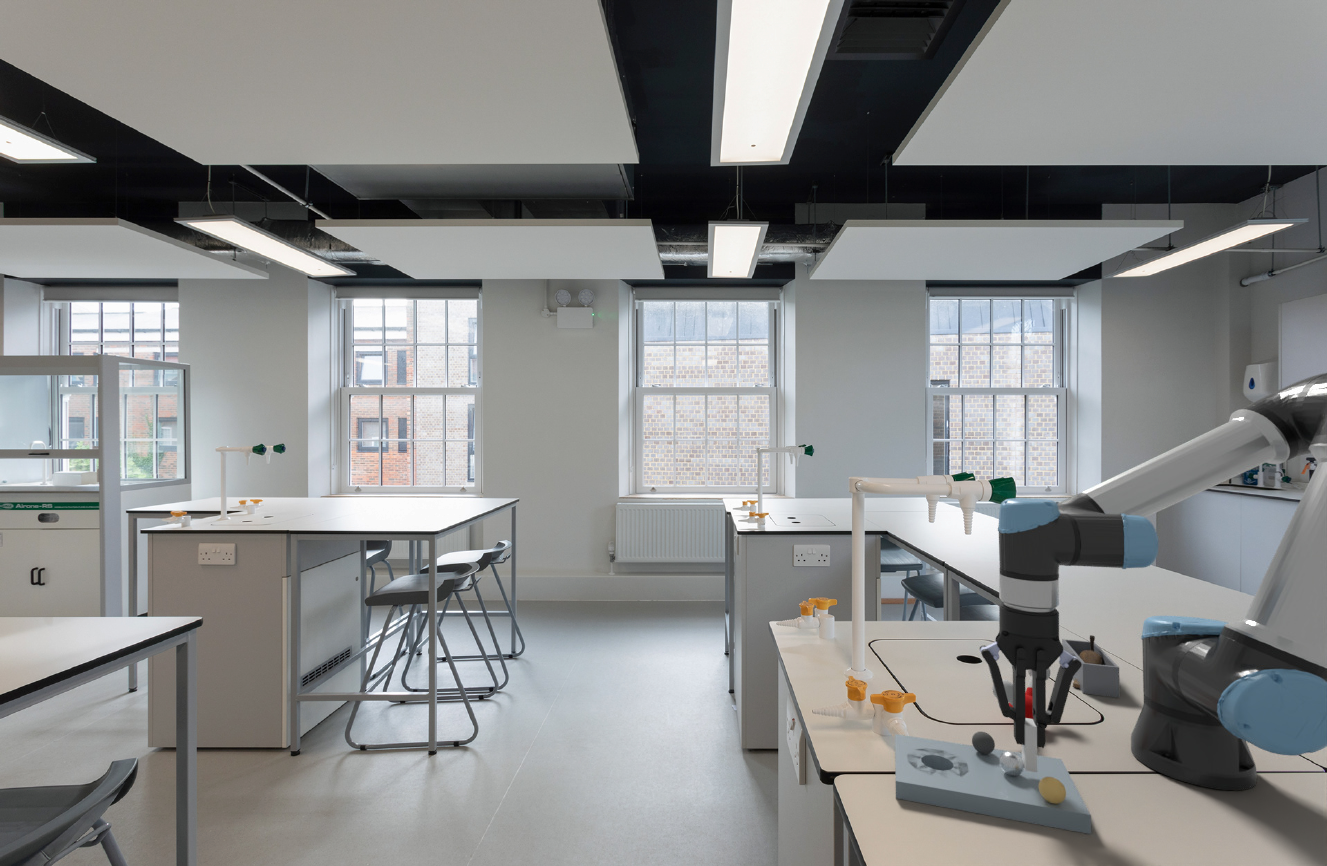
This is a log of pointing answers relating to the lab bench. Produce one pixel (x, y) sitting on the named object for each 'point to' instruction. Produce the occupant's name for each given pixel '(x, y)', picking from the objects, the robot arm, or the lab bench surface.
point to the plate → (984, 784)
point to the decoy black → (983, 742)
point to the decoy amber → (1052, 790)
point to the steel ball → (1011, 763)
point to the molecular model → (1028, 694)
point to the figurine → (1089, 658)
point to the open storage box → (1094, 670)
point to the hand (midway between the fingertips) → (1029, 766)
